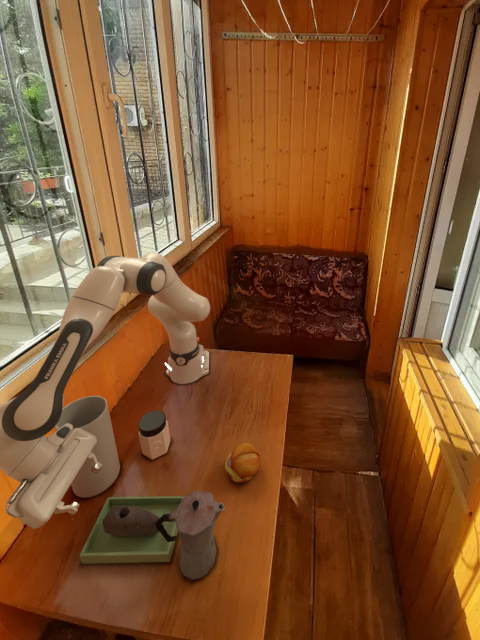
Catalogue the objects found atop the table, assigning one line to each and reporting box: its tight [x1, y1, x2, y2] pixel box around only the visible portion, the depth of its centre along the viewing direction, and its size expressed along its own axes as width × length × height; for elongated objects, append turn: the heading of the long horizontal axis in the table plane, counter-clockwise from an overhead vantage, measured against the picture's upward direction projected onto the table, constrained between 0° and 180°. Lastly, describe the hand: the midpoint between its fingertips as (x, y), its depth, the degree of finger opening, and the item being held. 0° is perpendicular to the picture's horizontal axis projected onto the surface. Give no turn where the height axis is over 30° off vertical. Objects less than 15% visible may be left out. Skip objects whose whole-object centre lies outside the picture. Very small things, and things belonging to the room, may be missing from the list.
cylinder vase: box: [54, 395, 121, 499], centre depth 91 cm, size 12×12×25 cm
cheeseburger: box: [224, 442, 261, 484], centre depth 96 cm, size 10×11×10 cm
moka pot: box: [155, 489, 226, 581], centre depth 73 cm, size 10×15×20 cm, turn 106°
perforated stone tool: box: [102, 505, 164, 537], centre depth 80 cm, size 15×5×7 cm, turn 85°
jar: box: [137, 410, 172, 461], centre depth 102 cm, size 9×8×12 cm
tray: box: [78, 495, 185, 565], centre depth 81 cm, size 13×21×3 cm, turn 91°
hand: (89, 488), depth 76 cm, fingers open, 8 cm apart
